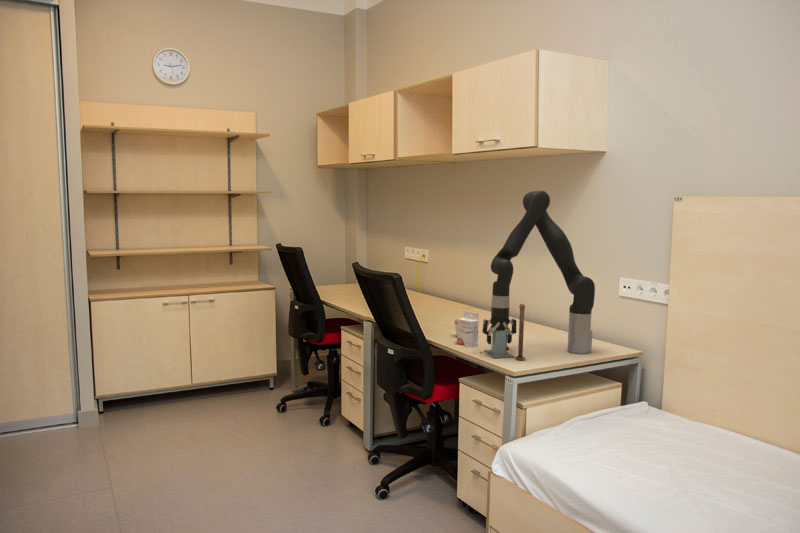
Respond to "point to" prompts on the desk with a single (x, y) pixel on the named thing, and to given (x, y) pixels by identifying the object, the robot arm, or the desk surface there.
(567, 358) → the desk surface
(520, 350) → the post
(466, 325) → the ink cartridge box
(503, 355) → the mat
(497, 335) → the block
